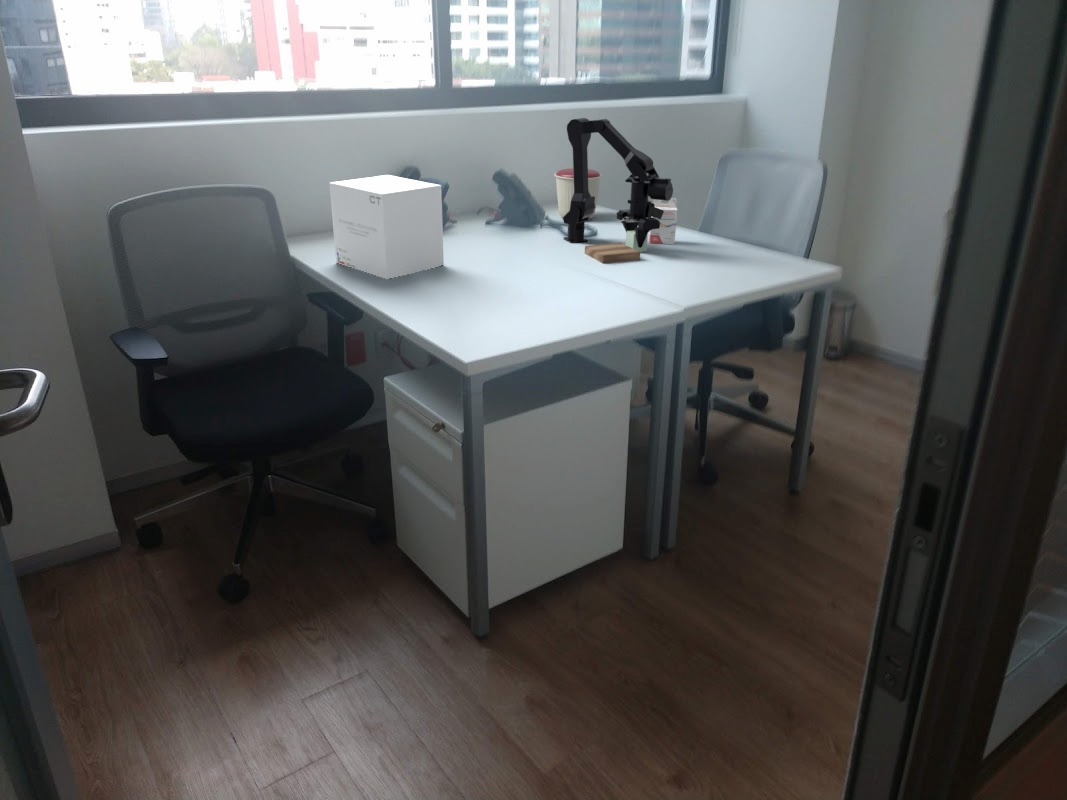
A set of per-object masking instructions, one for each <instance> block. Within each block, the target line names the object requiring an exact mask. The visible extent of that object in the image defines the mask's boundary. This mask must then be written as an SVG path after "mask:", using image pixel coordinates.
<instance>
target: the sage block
mask: <svg viewBox="0 0 1067 800" xmlns="http://www.w3.org/2000/svg"><path fill="white" fill-rule="evenodd" d="M648 235H649V233H648V234H647V236H646V238H645V241H644V243H643V246H642V247H641V248H639V247H638V243H637V238H636V233H635V230H633V231H627V233H626V236H625V238H626V239H625V245H626V246H629V247H631V248H633V249H635V250H637V251H639V252H640V253H641V252H642V253H643V252H644V251H645V252H647V246H648ZM645 252H644V253H645Z"/></svg>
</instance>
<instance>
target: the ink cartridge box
mask: <svg viewBox="0 0 1067 800" xmlns="http://www.w3.org/2000/svg"><path fill="white" fill-rule="evenodd" d="M677 202H678V199H677V198H676V197H671V199H670V200H669V201H668V202H664V200H656V199H652V203H653V204H655V207H656V208H658V209H661V210H664V212H663V215H662V218H661V220H660V219H658V218H655V219H658V220H659V221H660V228H659V229H652V230H650V231H649V234H648V235H649V237H648V238H649V239H648V240H649V244H660V243H662V244H664V245H665V244H666V245H675V241H676V232H677V231H676V229H677V220H678V207H677V205H678V203H677ZM651 218H654V217H652V216H651Z"/></svg>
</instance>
